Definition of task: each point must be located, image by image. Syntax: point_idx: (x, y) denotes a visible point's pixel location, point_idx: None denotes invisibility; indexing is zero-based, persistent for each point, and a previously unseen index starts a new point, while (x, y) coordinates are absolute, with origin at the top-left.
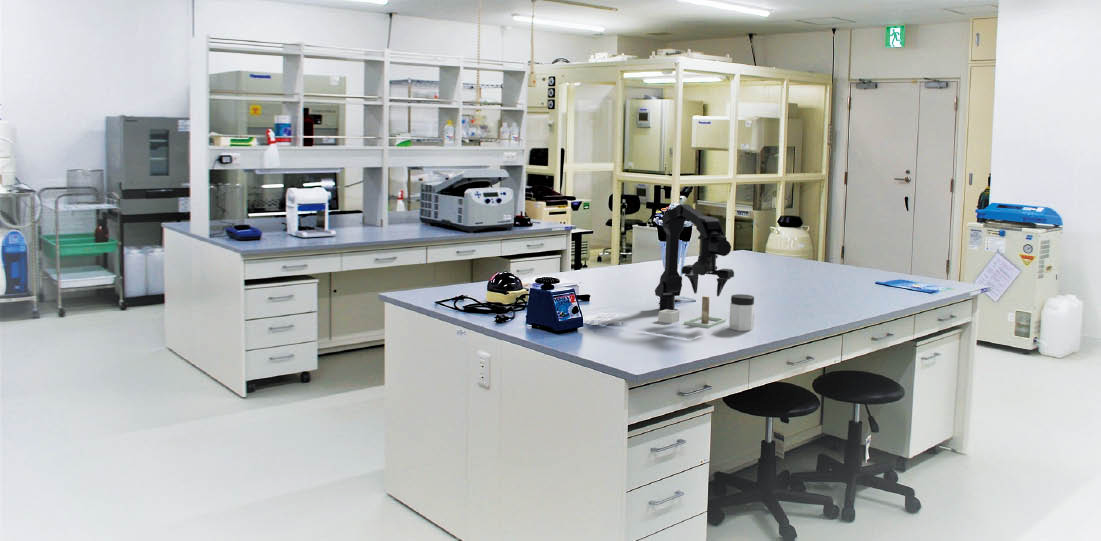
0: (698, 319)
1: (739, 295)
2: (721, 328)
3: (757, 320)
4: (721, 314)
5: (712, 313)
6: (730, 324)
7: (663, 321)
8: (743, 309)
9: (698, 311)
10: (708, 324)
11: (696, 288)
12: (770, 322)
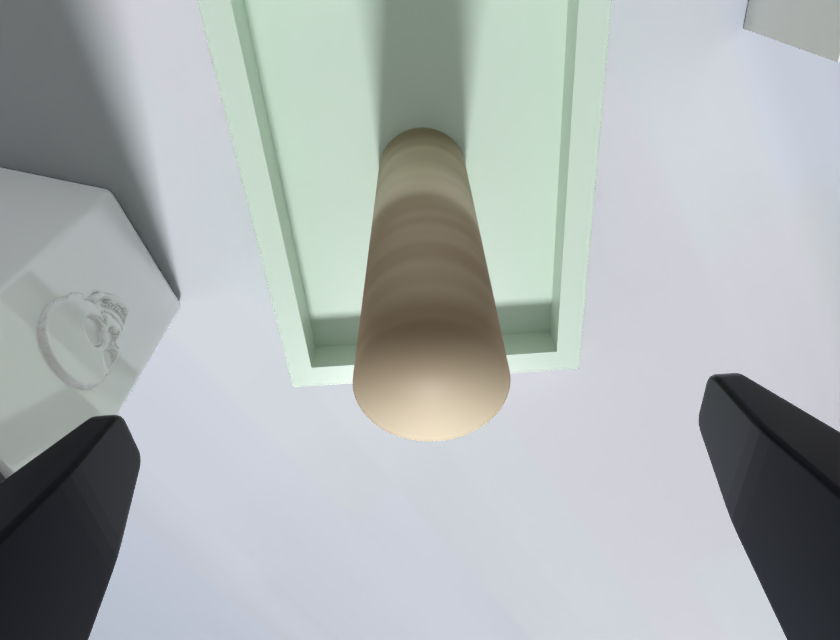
0: (558, 251)
1: None
2: (178, 143)
3: (223, 579)
4: (535, 580)
5: (607, 570)
6: (68, 204)
7: None
8: None
9: (731, 563)
10: None
11: (754, 511)
12: (118, 582)
